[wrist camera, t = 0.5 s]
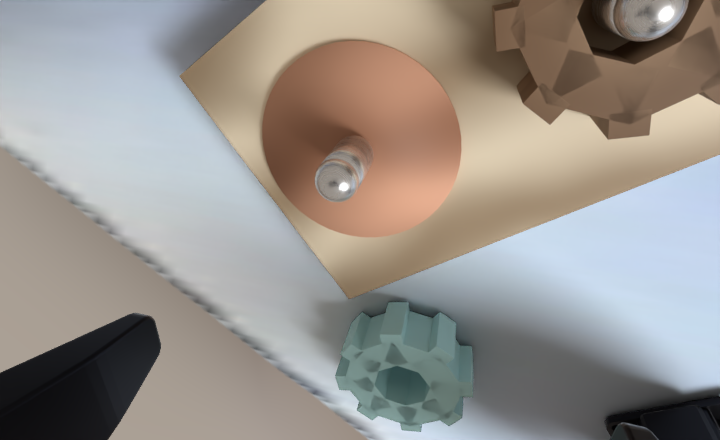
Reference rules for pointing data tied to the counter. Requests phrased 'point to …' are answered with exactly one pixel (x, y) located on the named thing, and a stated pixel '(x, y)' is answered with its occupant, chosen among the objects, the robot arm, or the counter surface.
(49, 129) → the counter surface
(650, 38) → the steel pegs
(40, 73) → the counter surface
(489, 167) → the gear board
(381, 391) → the loose gear
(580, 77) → the gear
